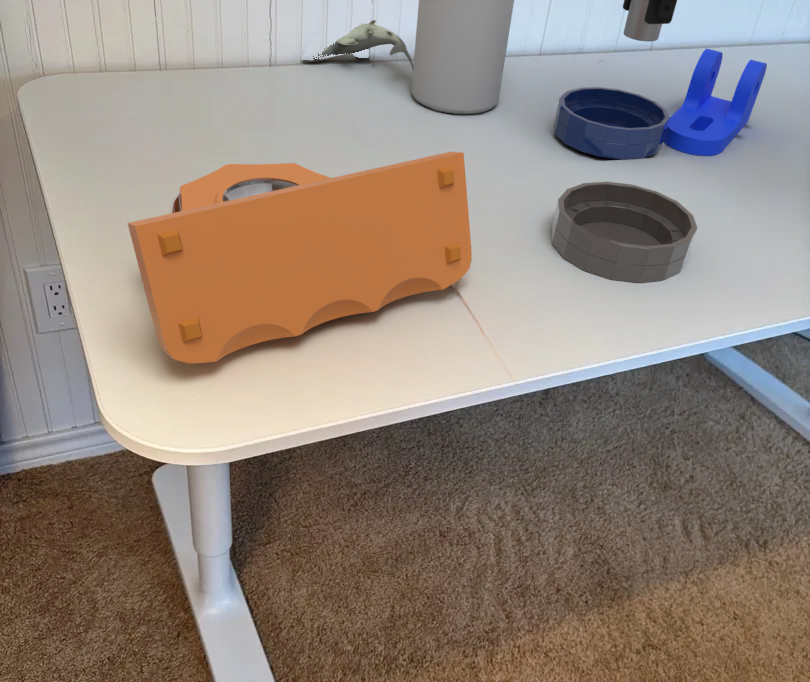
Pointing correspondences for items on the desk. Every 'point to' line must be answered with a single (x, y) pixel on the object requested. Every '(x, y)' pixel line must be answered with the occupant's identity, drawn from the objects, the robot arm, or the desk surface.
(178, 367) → the desk surface
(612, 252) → the grey bowl
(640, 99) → the blue bowl
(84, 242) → the desk surface
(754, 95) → the bracket
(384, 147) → the desk surface
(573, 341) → the desk surface
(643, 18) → the shaker
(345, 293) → the desk clock
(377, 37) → the grey-green dolphin figure
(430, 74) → the cylinder vase
